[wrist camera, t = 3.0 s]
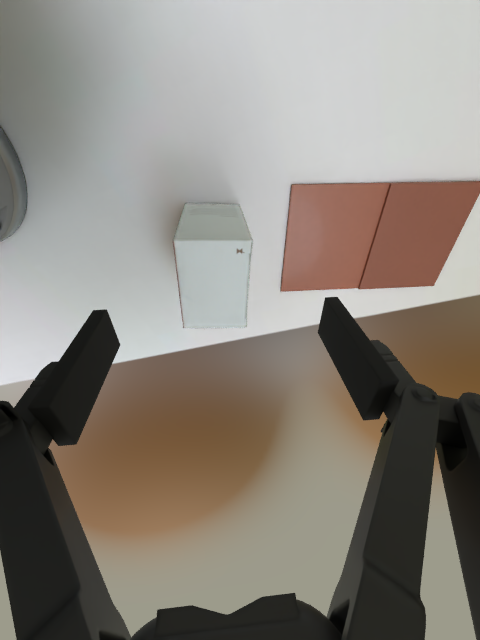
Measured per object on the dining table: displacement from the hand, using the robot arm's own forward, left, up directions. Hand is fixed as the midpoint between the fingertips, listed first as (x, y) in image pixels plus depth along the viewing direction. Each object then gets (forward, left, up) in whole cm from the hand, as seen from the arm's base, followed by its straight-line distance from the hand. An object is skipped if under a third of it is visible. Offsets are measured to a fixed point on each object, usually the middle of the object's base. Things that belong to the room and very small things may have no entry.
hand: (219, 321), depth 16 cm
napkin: (+18, -1, -15) cm, 23 cm away
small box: (0, 0, -15) cm, 15 cm away
